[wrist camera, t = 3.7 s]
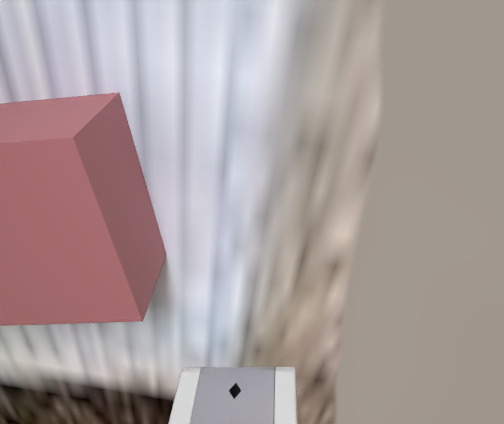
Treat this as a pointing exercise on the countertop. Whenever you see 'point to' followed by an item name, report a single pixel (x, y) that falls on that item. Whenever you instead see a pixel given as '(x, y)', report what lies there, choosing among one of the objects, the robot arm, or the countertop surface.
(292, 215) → the countertop surface
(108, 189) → the carton
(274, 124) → the countertop surface
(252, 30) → the countertop surface
